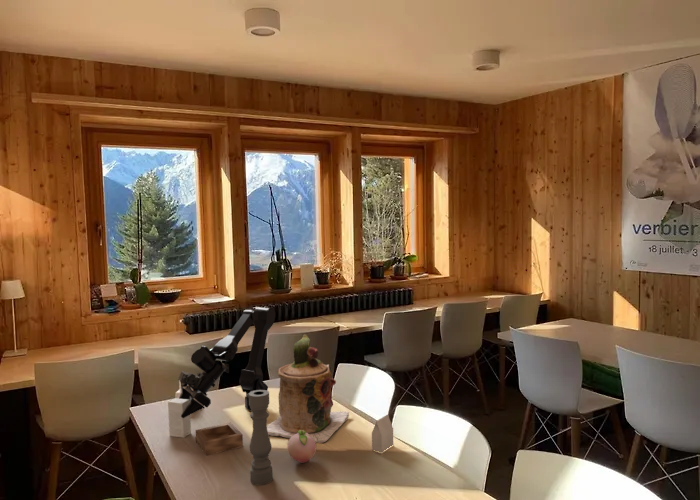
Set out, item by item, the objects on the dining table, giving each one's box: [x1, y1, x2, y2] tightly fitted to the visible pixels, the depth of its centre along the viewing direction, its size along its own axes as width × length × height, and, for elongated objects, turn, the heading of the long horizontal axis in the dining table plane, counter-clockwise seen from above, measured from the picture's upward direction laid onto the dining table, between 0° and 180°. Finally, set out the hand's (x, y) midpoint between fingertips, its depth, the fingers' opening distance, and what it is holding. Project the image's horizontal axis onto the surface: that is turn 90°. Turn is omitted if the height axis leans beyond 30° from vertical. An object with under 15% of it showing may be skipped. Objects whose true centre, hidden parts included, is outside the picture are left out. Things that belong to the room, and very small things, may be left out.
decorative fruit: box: [286, 430, 317, 464], centre depth 162 cm, size 9×8×10 cm
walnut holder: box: [195, 422, 244, 456], centre depth 177 cm, size 12×12×4 cm
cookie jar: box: [267, 334, 350, 444], centre depth 190 cm, size 25×25×32 cm
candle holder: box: [249, 390, 274, 486], centre depth 152 cm, size 6×6×25 cm
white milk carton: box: [371, 414, 394, 452], centre depth 171 cm, size 4×7×10 cm, turn 144°
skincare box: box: [167, 397, 192, 439], centre depth 185 cm, size 6×4×12 cm
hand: (178, 413), depth 185 cm, fingers open, 9 cm apart
